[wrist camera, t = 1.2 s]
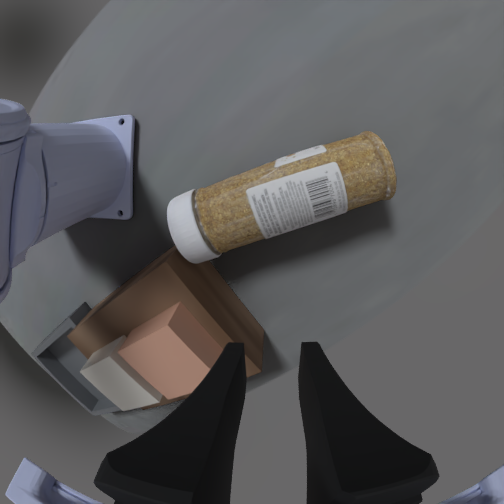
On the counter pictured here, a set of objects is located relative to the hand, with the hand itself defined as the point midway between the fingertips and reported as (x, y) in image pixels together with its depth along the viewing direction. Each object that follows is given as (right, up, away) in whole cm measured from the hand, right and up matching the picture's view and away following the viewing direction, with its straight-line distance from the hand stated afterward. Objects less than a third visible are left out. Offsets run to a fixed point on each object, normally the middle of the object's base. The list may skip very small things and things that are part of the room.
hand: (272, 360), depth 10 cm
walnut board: (-8, -2, +12) cm, 15 cm away
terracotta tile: (-6, -2, +7) cm, 9 cm away
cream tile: (-11, -5, +8) cm, 15 cm away
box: (-20, -9, +16) cm, 27 cm away
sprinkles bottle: (+7, +10, +4) cm, 13 cm away
